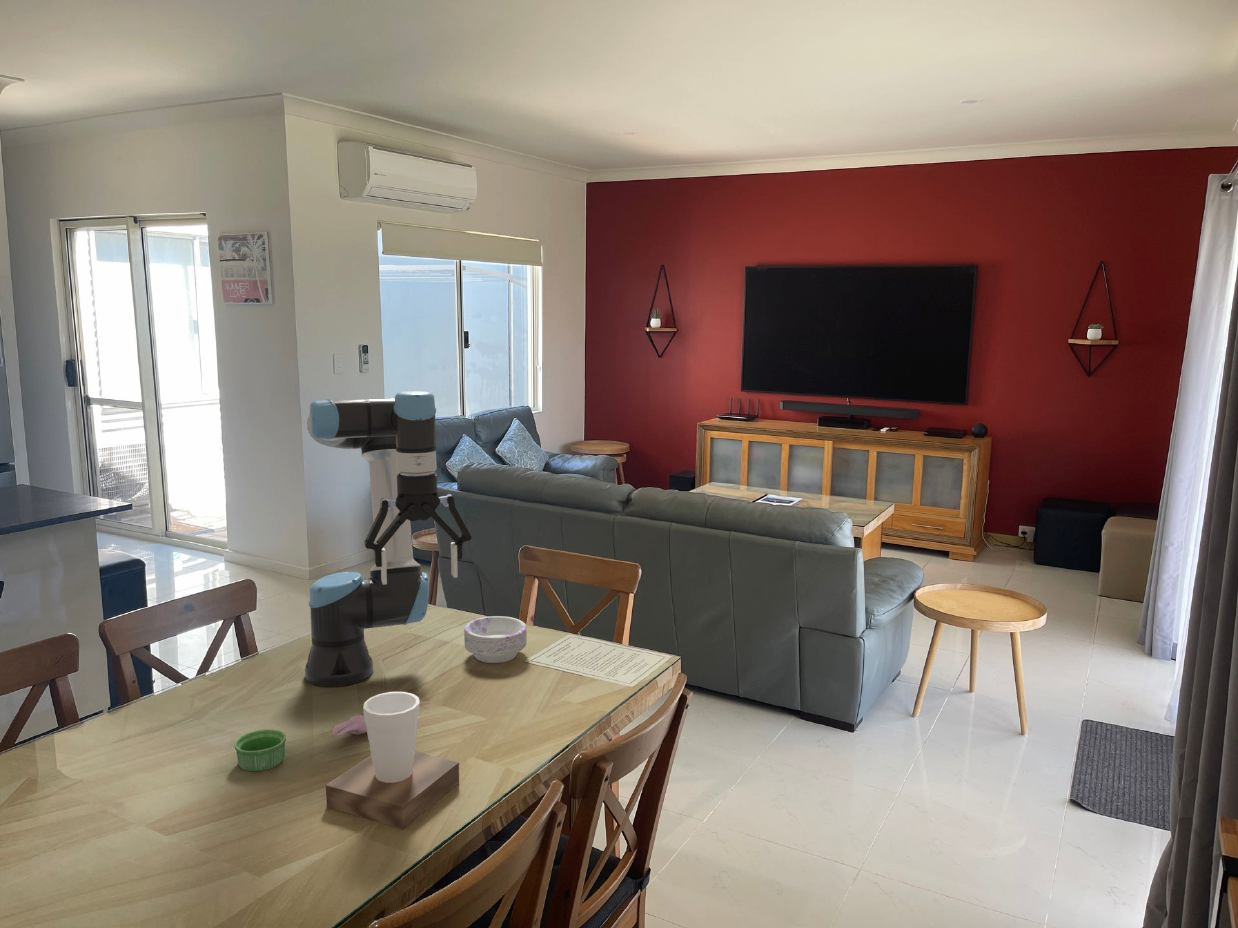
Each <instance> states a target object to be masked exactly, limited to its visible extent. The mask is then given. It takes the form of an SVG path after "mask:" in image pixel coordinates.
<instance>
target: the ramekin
mask: <svg viewBox="0 0 1238 928" xmlns="http://www.w3.org/2000/svg"><path fill="white" fill-rule="evenodd" d="M286 741H287V735H286V733H285V732H284V731H282V730H280V729H275V728H265V729H258V730H253V731H250V732H247V733H245V734H243V735H240V737H238V738H237V739H236V740H235V741H234V750H235V751H236V758H237V763H238V767H239V768H241V769H242V770H244V771H245V772H262V771H266V770H270V769H273V768H275V767H277V766H278V765H281V764H282V762H283V761H284V759H285V757H286Z"/></svg>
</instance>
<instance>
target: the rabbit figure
mask: <svg viewBox="0 0 1238 928" xmlns="http://www.w3.org/2000/svg"><path fill="white" fill-rule="evenodd" d="M348 732H349V733H350V734H352V735H358V736H360V735H364V734H367V728H366V723H365V722H364V714H363V715H362V714H360V715H354V716H352V717H350V718H349V719H348V720H347V721H344V722H343V721H342V722H340V723H337V724H336V725H335V726H334V727H333V729H332V732H331V734H332V735H335V734H337V737H341V736H343V735H344V734H346V733H348Z"/></svg>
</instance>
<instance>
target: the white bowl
mask: <svg viewBox="0 0 1238 928" xmlns="http://www.w3.org/2000/svg"><path fill="white" fill-rule="evenodd" d="M527 628H528V627H527V624H526V623H525V622H524V621H522V620H520V619H518V618H516V617H511V616H503V615H502V616H501V615H498V616H497V615H494V616H493V615H492V616H484V617H478V618H476V619H473V620H471V621H469V622H468V623H466V624H465V626H464V629H463V633H464V648H465V650H466V651H467V652H469V653H471V654H472V655H473V656H474V657H475V659H476V660H477V661H480V662H483V663H487V664H502V663H506V662H509V661H511V660H513V659H515V657H517V655H518V653H519V652H520V651H522V650H523V649H525V647H526V645H527V642H528V641H527V633H528V632H527V631H528V630H527Z"/></svg>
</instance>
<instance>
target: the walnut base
mask: <svg viewBox="0 0 1238 928" xmlns="http://www.w3.org/2000/svg"><path fill="white" fill-rule="evenodd" d="M458 784H460V761H459V762H458V761H456V760H451V759H447V758H443V757H439V756H435V755H431V754H428V753H424V752H423V753H422V752H419V751H416V750H415V755H414V764H413V770H412V774H411V776H410V777H409V778H407V779H405V780H403V781H399V782H395V783H385V782H382V781H379V780H378V779H377V778H376V775H375V772H374V767H373V761H372V756H371V754H370V755H368V756H366V757H365V758H364V759H362V760H361V761H359V762H358V763H357V764H355V765H353V766H352V767H350V768H349V769H347V770H346V771H345V772H342V773H341V774H339V775H338V776H337V777H335V778H334V779H332V780H331V781H329V782H328V783H326V784H325V796H326V799H325V800H326V801H325V802H326V808H330V809H333V810H337V811H340V812H343V813H347V814H350V815H353V816H357V817H360V818H364V819H367V820H370V821H373V822H376V823H380V824H384V825H387V826H391V827H394V828H396V829H400V830H404V829H406V828H407V827H408V826H410V825H411V823H413V822H414V821H415V820H417V819H418V818H419V817H420V816H421V815H423V814H424V813H425V812H426V811H428V809H430V808H432V807H433V806H434V805H435V804H436V803H438V802H439V801H440V800H441V799H442V798H444V796H446V795H447V794H448V793H449V792H450V791H451V790H453V789H454V788H456V786H457V785H458Z"/></svg>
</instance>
